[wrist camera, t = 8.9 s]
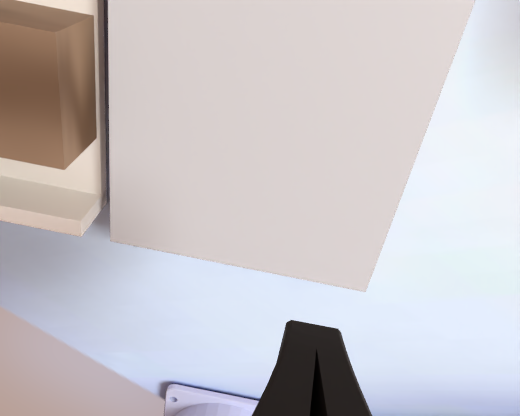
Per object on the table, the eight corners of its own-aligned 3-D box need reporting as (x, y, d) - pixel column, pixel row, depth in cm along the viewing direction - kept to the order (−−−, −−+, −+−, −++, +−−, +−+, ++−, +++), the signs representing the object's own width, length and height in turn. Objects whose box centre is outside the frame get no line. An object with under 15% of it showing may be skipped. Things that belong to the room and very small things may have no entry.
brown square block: (96, 138, 20) (64, 169, 18) (-18, 115, 20) (-67, 144, 18) (93, 15, 18) (55, 32, 15) (-38, -11, 18) (-99, 2, 15)
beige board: (363, 271, 23) (365, 292, 22) (121, 223, 23) (110, 241, 22) (479, -52, 16) (493, -48, 14) (123, -120, 16) (106, -123, 15)
